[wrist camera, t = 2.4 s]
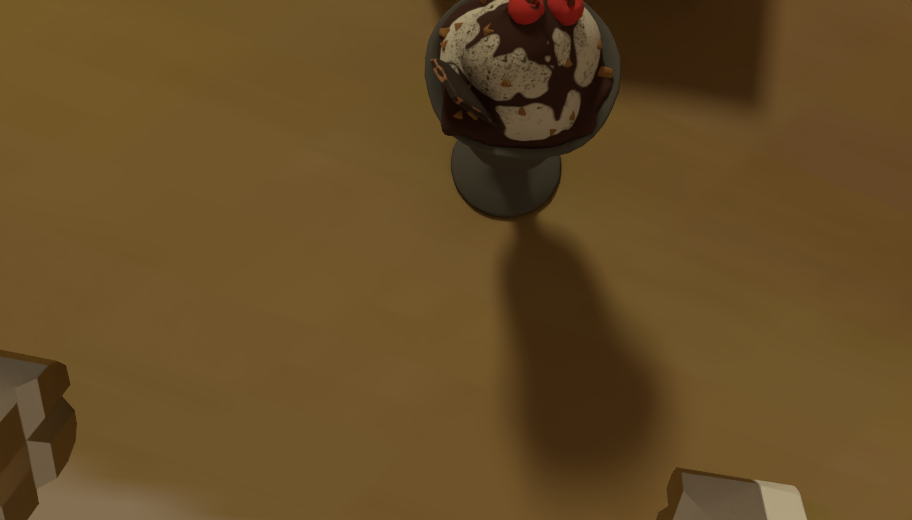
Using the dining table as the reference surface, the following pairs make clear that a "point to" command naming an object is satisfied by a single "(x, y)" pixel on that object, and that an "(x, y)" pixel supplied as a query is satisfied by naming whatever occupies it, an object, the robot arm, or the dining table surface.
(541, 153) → the sundae
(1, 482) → the robot arm
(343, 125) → the dining table surface
